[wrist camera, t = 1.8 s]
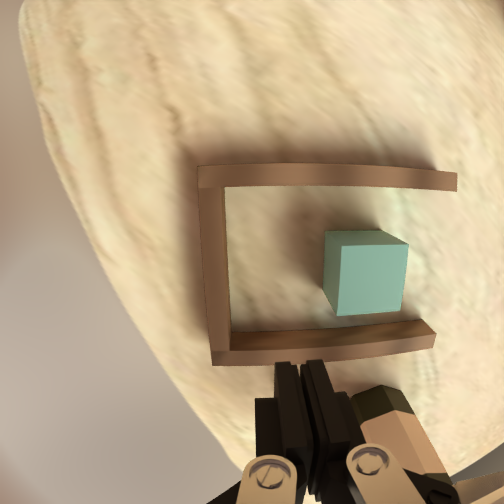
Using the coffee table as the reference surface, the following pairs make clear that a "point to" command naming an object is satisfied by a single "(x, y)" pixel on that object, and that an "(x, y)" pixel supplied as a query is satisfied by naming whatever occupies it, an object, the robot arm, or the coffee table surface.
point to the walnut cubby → (299, 341)
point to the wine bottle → (397, 430)
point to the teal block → (364, 271)
